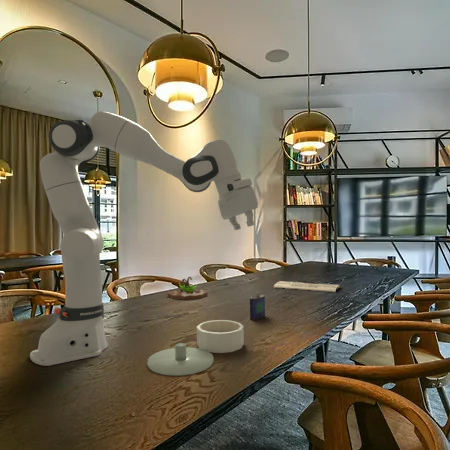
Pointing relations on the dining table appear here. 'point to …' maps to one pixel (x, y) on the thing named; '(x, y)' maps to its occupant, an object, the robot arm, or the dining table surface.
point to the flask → (257, 307)
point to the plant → (187, 291)
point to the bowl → (220, 336)
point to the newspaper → (307, 286)
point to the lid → (180, 360)
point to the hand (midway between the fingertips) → (244, 227)
